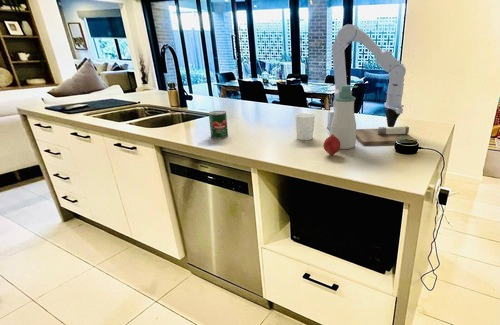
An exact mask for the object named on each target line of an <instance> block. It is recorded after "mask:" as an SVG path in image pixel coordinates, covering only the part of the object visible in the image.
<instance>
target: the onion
mask: <svg viewBox="0 0 500 325" xmlns="http://www.w3.org/2000/svg"><path fill="white" fill-rule="evenodd" d="M329 136H330V135H329ZM329 136H328V137H327V138H326V139H325V140H324V142H323V149H324V151H325V152H326V153H327V154H328V155H329V156H334V155H335V154H336V153H338V152H339V151H340V150H341V149H340V141H339V140H338V138H337V137H335V136H334V134H332V135H331V136H330V137H329Z"/></svg>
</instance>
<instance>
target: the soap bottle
mask: <svg viewBox="0 0 500 325" xmlns="http://www.w3.org/2000/svg"><path fill="white" fill-rule="evenodd" d="M351 88H354V89H356V88H358V85H348V84H347V85H344V86H342V91H339V96H337V97H336V98H335V100H336V108H335V113H334V117H333V120H332V123H331V128H330V130H329V136H328V137H330V136H331V135H332V134H334V136H335V137H337V138H338V140H339V141H340V149H339V150H350V149H353V148H355V147H356V140H357V139H356V129H357V122H356V117H355V101H356V99H357V97H355V96H353V91H352V90H351Z"/></svg>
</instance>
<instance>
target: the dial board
mask: <svg viewBox="0 0 500 325" xmlns="http://www.w3.org/2000/svg"><path fill="white" fill-rule="evenodd" d="M402 139H408V140H414V141H417V142H418V140H417V139H416V138H414V137H413V136H411V134H410V135H409V133H408V134H385V135H379V134H378V128H359V129H358V128H356V140H357V141H358V142H359V143H360V144H361V145H362V146H385V145H386V146H387V145H388V146H389V145H394V144H395V142H396V141H399V140H402Z"/></svg>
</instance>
